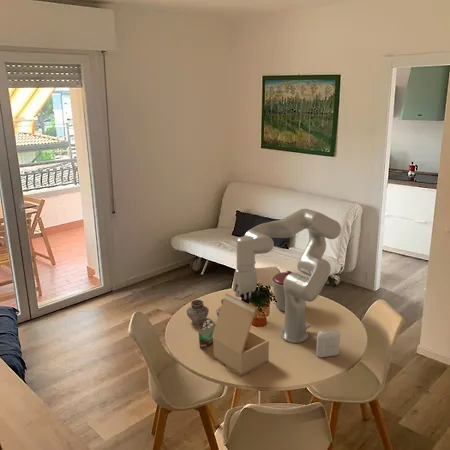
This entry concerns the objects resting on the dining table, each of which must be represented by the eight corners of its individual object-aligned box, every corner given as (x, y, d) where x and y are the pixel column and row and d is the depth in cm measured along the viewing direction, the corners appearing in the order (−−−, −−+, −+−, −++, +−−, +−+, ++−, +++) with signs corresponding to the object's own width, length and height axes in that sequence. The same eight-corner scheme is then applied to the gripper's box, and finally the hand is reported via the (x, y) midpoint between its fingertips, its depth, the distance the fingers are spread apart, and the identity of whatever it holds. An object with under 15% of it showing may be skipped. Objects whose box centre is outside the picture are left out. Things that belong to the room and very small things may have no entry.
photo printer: (335, 350, 210) (337, 325, 206) (340, 355, 206) (341, 330, 202) (314, 353, 208) (315, 328, 204) (318, 358, 204) (319, 333, 200)
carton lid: (226, 293, 203) (225, 293, 202) (256, 307, 189) (255, 307, 189) (213, 337, 203) (211, 337, 202) (241, 354, 189) (240, 354, 189)
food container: (212, 350, 211) (211, 331, 208) (198, 349, 212) (198, 330, 209) (217, 336, 222) (217, 318, 220) (205, 335, 224) (204, 317, 221)
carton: (240, 344, 216) (240, 325, 213) (268, 361, 202) (268, 340, 200) (213, 357, 206) (213, 337, 203) (241, 375, 192) (241, 354, 190)
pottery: (235, 327, 231) (235, 305, 227) (185, 327, 232) (184, 305, 229) (236, 316, 242) (236, 295, 238) (188, 316, 243) (187, 295, 239)
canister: (305, 301, 257) (307, 266, 251) (303, 317, 240) (305, 279, 234) (273, 298, 261) (273, 263, 254) (268, 313, 244) (269, 276, 238)
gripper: (252, 259, 201) (251, 298, 206) (226, 268, 191) (226, 308, 197) (264, 264, 195) (264, 304, 200) (238, 273, 186) (238, 314, 191)
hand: (245, 306), depth 198 cm, fingers closed
